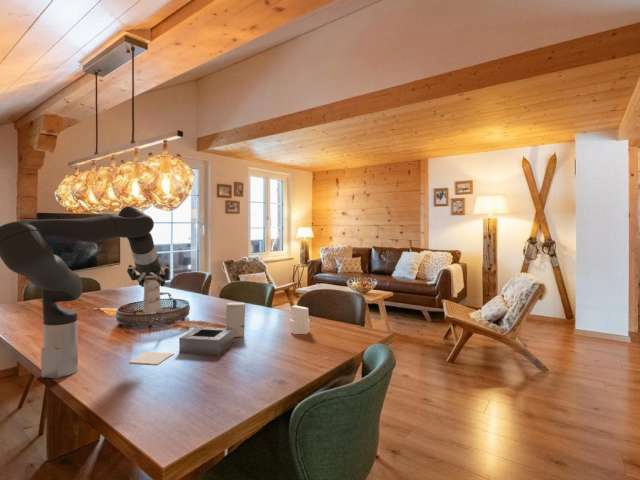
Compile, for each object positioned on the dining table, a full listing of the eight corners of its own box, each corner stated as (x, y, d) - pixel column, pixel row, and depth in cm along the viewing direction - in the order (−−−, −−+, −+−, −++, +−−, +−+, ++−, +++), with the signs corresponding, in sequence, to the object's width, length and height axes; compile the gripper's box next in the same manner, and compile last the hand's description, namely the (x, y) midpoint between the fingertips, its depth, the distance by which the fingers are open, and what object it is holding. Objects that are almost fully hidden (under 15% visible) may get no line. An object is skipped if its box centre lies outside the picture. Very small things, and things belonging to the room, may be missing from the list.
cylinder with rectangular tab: (313, 332, 174) (313, 307, 173) (299, 336, 167) (299, 310, 166) (299, 328, 180) (299, 304, 179) (286, 332, 173) (286, 307, 172)
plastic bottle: (154, 315, 132) (154, 260, 131) (138, 314, 133) (137, 259, 133) (165, 311, 138) (165, 259, 138) (149, 310, 140) (149, 258, 139)
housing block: (218, 355, 141) (218, 340, 140) (179, 353, 143) (179, 338, 142) (233, 342, 157) (233, 328, 156) (198, 340, 159) (198, 326, 158)
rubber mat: (157, 364, 131) (157, 363, 131) (129, 363, 132) (129, 362, 132) (173, 354, 141) (173, 353, 141) (147, 352, 143) (147, 351, 143)
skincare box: (226, 338, 163) (226, 304, 162) (225, 334, 168) (225, 302, 168) (245, 336, 165) (245, 304, 165) (243, 332, 171) (244, 301, 170)
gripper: (119, 264, 121) (130, 293, 133) (166, 263, 124) (172, 292, 136) (124, 247, 126) (134, 277, 138) (168, 247, 129) (174, 276, 141)
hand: (153, 284), depth 137 cm, fingers closed on plastic bottle, 6 cm apart
